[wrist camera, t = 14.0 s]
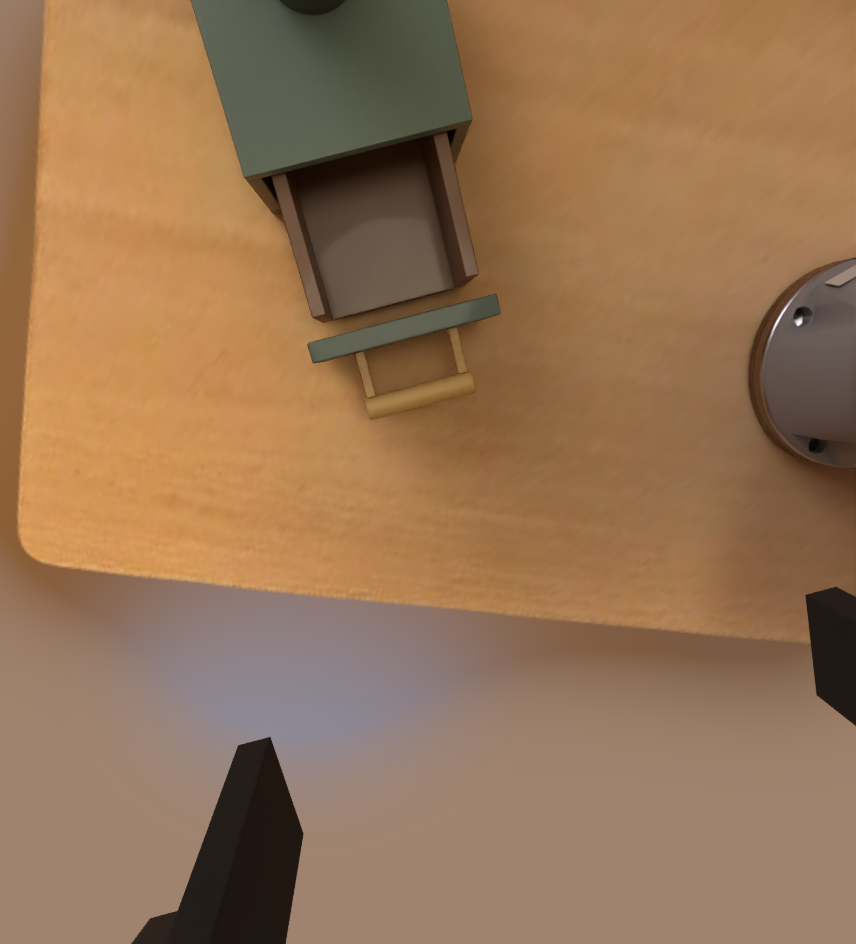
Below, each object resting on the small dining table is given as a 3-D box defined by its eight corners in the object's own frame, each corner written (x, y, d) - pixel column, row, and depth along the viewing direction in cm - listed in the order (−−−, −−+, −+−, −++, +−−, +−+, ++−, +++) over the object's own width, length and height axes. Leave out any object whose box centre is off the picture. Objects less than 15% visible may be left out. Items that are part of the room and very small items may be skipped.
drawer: (495, 380, 42) (517, 385, 35) (341, 421, 42) (333, 434, 35) (430, 96, 38) (440, 42, 32) (259, 139, 38) (233, 94, 31)
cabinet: (453, 168, 40) (472, 119, 32) (273, 214, 40) (243, 177, 31) (393, -96, 37) (396, -229, 28) (196, -48, 36) (140, -168, 28)
